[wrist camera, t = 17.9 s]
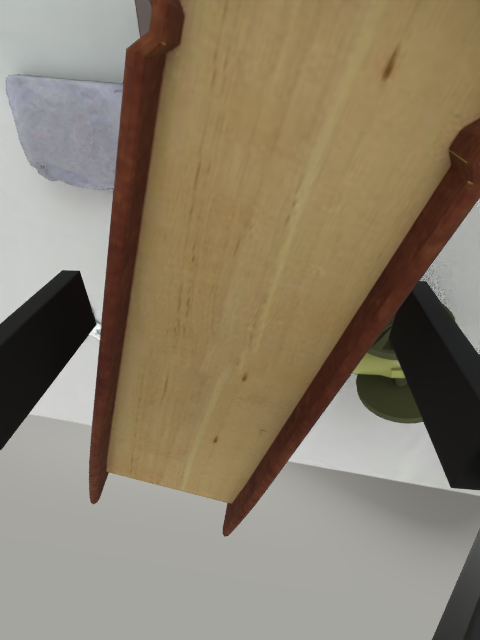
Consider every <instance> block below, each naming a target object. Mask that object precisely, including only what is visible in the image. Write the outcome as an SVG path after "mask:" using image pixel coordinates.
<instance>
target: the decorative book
mask: <svg viewBox="0 0 480 640" xmlns="http://www.w3.org/2000/svg"><path fill="white" fill-rule="evenodd" d="M149 1H150V4H151V6H152V11H151V18H150V25H149V31H148V32H147V33H146V34H144V35H143V36H142V37H141V38H139V39H138V40H137V41H136V42H135V43H133V44H132V45H131V46H130V47H128V48H127V49H126V59H125V70H124V81H123V92H122V103H121V114H120V125H119V136H118V147H117V158H116V169H115V180H114V191H113V202H112V213H111V224H110V235H109V246H108V257H107V268H106V279H105V290H104V301H103V312H102V323H101V334H100V345H99V356H98V367H97V378H96V389H95V400H94V411H93V422H92V433H91V446H90V460H89V492H90V500H91V503H92V504H95V503H97V502H98V500H99V498H100V496H101V493H102V490H103V487H104V484H105V481H106V479H107V476H108V473H113V474H118V475H121V476H125V477H129V478H133V479H137V480H140V481H144V482H149V483H152V484H156V485H160V486H164V487H168V488H172V489H176V490H180V491H183V492H187V493H192V494H195V495H199V496H203V497H207V498H211V499H215V500H219V501H223V502H226V503H228V504H227V509H226V515H225V520H224V525H223V535H224V536H228V535H229V534H230V533H231V532H232V531H233V530H234V529H235V528H236V527H237V526H238V524H239V523H240V522H241V521H242V520H243V519H244V518H245V517H246V515H247V514H248V513H249V512H250V510H251V509H252V508H253V507H254V506H255V504H256V503H257V502H258V501H259V499H260V498H261V497H262V495H263V494H264V493H265V491H266V490H267V489H268V487H269V486H270V484H271V483H272V482H273V481H274V479H275V478H276V476H277V475H278V474H279V472H280V471H281V469H282V468H283V467H284V465H285V464H286V463H287V461H288V460H289V459H290V457H291V456H292V455H293V453H294V452H295V450H296V449H297V448H298V446H299V445H300V444H301V442H302V441H303V439H304V438H305V437H306V435H307V434H308V433H309V431H310V430H311V428H312V427H313V426H314V424H315V423H316V422H317V420H318V419H319V417H320V416H321V415H322V413H323V412H324V411H325V409H326V408H327V407H328V405H329V404H330V402H331V401H332V400H333V398H334V397H335V396H336V394H337V393H338V391H339V390H340V389H341V387H342V386H343V385H344V383H345V382H346V380H347V379H348V378H349V376H350V375H351V374H352V372H353V371H354V370H355V368H356V367H357V365H358V364H359V363H360V361H361V360H362V359H363V357H364V356H365V354H366V353H367V352H368V350H369V349H370V348H371V346H372V345H373V343H374V342H375V341H376V339H377V338H378V337H379V335H380V334H381V332H382V331H383V330H384V328H385V327H386V326H387V324H388V323H389V322H390V320H391V319H392V317H393V316H394V315H395V313H396V312H397V311H398V309H399V308H400V306H401V305H402V304H403V302H404V301H405V300H406V298H407V297H408V295H409V294H410V293H411V291H412V290H413V289H414V287H415V286H416V284H417V283H418V282H419V280H420V279H421V278H422V276H423V275H424V274H425V272H426V271H427V269H428V268H429V267H430V265H431V264H432V263H433V261H434V260H435V258H436V257H437V256H438V254H439V253H440V252H441V250H442V249H443V247H444V246H445V245H446V243H447V242H448V241H449V239H450V238H451V237H452V235H453V234H454V232H455V231H456V230H457V228H458V227H459V226H460V224H461V223H462V221H463V220H464V219H465V217H466V216H467V215H468V213H469V212H470V210H471V209H472V208H473V206H474V205H475V204H476V202H477V201H478V199H479V198H480V0H149Z"/></svg>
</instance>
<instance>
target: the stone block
mask: <svg viewBox="0 0 480 640" xmlns="http://www.w3.org/2000/svg"><path fill="white" fill-rule="evenodd" d="M122 92H123V84H120V83H109V82H97V81H86V80H74V79H63V78H51V77H41V76H31V75H19V74H18V75H8V76H7V77H6V94H7V96H8V99H9V105H10V107H11V110H12V113H13V117H14V121H15V125H16V128H17V132H18V136H19V140H20V143H21V145H22V148H23V150H24V153H25V155H26V157H27V159H28V161H29V163H30V165H31V166H33V167H35V168H36V169H37V170H38V173H39V174H40V175H42V176H44V177H45V178H47V179H48V180H51V181H58V180H60V181H64V182H65V183H67V184H70V185H75V186H78V187H84V188H93V189H98V190H104V189H109V188H112V189H114V180H115V169H116V158H117V147H118V136H119V125H120V114H121V103H122Z"/></svg>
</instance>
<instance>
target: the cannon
mask: <svg viewBox="0 0 480 640" xmlns="http://www.w3.org/2000/svg"><path fill="white" fill-rule="evenodd" d="M443 306H444V305H443ZM444 307H445V309H446V310H447V311H448V313H449V314H450V316H451V317H452V318H453V320H454V321H455V318H454V316H453V314H452V312H451V311H450V310H449V309H448V308H447V307H446V306H444ZM395 314H396V313H395ZM394 318H395V315H394V316H393V317H392V319H391V320H390V322H389V323H388V324H387V326H386V327H385V328H384V330H383V331H382V332H381V334H380V335H379V337H378V338H377V339H376V341H375V342H374V343H373V345H372V346H371V348H370V349H369V350H368V352H367V353H366V354H365V356H364V357H363V359H362V360H361V361H360V363H359V364H358V365H357V367H356V368H355V370H354V371H353V372H352V374H358V375H357V380H356V385H357V392H358V395H359V398H360V400H361V401H362V403H363V404H364V405H365V406H366V407H367V408H368V409H369V410H370V411H371V412H373V413H374V414H376V415H377V416H379V417H382V418H384V419H386V420H390V421H393V422H398V423H419V422H423V419H422V417H421V414H420V412H419V410H418V407H417V405H416V402H415V400H414V398H413V395H412V393H411V390H410V388H409V386H408V383H407V381H406V378H405V376H404V374H403V371H402V369H401V366H400V364H399V362H398V359H397V357H396V354H395V352H394V350H393V347H392V345H391V342H390V340H389V335H390V331H391V328H392V325H393V321H394Z"/></svg>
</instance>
